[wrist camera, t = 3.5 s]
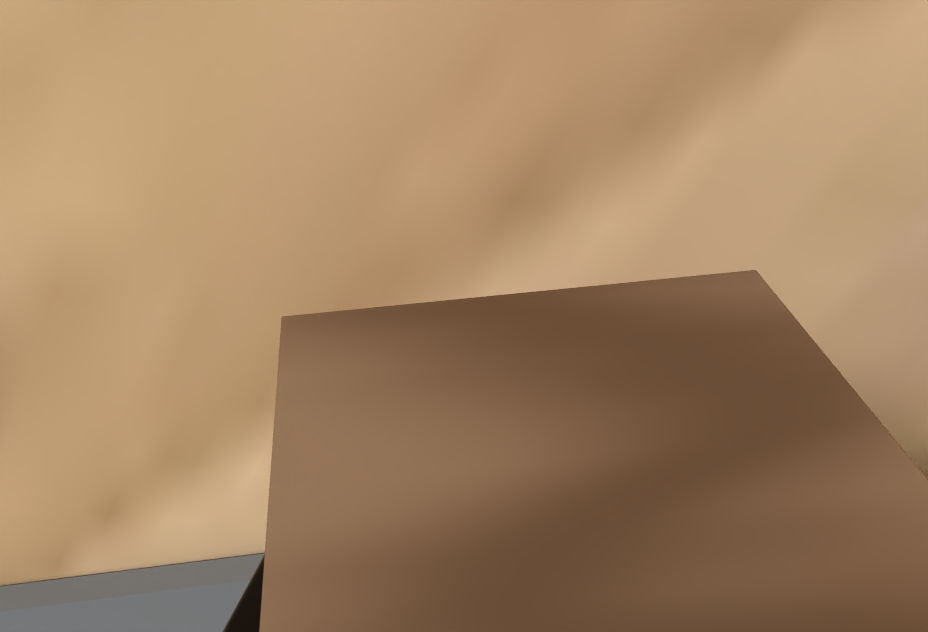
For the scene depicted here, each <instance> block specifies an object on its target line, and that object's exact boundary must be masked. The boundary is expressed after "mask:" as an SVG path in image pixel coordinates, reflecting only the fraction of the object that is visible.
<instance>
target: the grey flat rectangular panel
mask: <svg viewBox="0 0 928 632" xmlns="http://www.w3.org/2000/svg"><path fill="white" fill-rule="evenodd" d="M264 554H265V553H263V554H255V555H247V556H239V557H231V558H223V559H215V560H207V561H199V562H191V563H183V564H175V565H167V566H159V567H151V568H143V569H135V570H127V571H119V572H111V573H103V574H95V575H87V576H79V577H71V578H63V579H55V580H47V581H39V582H31V583H23V584H15V585H7V586H0V632H223V630H224V628H225V626H226V624H227V622H228V621H229V619H230V617H231V615H232V613H233V611H234V610H235V608H236V606H237V604H238V602H239V600H240V599H241V597H242V595H243V593H244V591H245V589H246V587H247V586H248V584H249V582H250V580H251V578H252V576H253V575H254V573H255V571H256V569H257V567H258V565H259V563H260V562H261V560H262V558H263V556H264Z"/></svg>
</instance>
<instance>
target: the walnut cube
mask: <svg viewBox="0 0 928 632" xmlns="http://www.w3.org/2000/svg"><path fill="white" fill-rule="evenodd" d="M259 632H928V479H927V478H926V477H925V476H924V475H923V473H922V472H921V471H920V470H919V468H918V467H917V466H916V465H915V464H914V462H913V461H912V460H911V459H910V457H909V456H908V455H907V454H906V453H905V451H904V450H903V449H902V448H901V446H900V445H899V444H898V443H897V442H896V440H895V439H894V438H893V437H892V436H891V434H890V433H889V432H888V431H887V429H886V428H885V427H884V426H883V425H882V423H881V422H880V421H879V420H878V418H877V417H876V416H875V415H874V414H873V412H872V411H871V410H870V409H869V407H868V406H867V405H866V404H865V403H864V401H863V400H862V399H861V398H860V397H859V395H858V394H857V393H856V392H855V390H854V389H853V388H852V387H851V386H850V384H849V383H848V382H847V381H846V379H845V378H844V377H843V376H842V375H841V373H840V372H839V371H838V370H837V368H836V367H835V366H834V365H833V364H832V362H831V361H830V360H829V359H828V358H827V356H826V355H825V354H824V353H823V351H822V350H821V349H820V348H819V347H818V345H817V344H816V343H815V342H814V340H813V339H812V338H811V337H810V336H809V334H808V333H807V332H806V331H805V329H804V328H803V327H802V326H801V325H800V323H799V322H798V321H797V320H796V319H795V317H794V316H793V315H792V314H791V312H790V311H789V310H788V309H787V308H786V306H785V305H784V304H783V303H782V301H781V300H780V299H779V298H778V297H777V295H776V294H775V293H774V292H773V290H772V289H771V288H770V287H769V286H768V284H767V283H766V282H765V281H764V280H763V278H762V277H761V276H760V275H759V273H758V272H757V271H756V270H751V271H741V272H731V273H721V274H710V275H700V276H690V277H680V278H670V279H660V280H649V281H639V282H629V283H619V284H609V285H599V286H588V287H578V288H568V289H558V290H548V291H538V292H527V293H517V294H507V295H497V296H487V297H477V298H467V299H456V300H446V301H436V302H426V303H416V304H406V305H395V306H385V307H375V308H365V309H355V310H345V311H334V312H324V313H314V314H304V315H294V316H284V317H282V321H281V335H280V349H279V363H278V377H277V391H276V405H275V419H274V433H273V447H272V461H271V475H270V489H269V503H268V517H267V531H266V545H265V559H264V573H263V587H262V601H261V615H260V629H259Z"/></svg>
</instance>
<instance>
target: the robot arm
mask: <svg viewBox="0 0 928 632" xmlns="http://www.w3.org/2000/svg"><path fill="white" fill-rule="evenodd" d="M264 559H265V554H264V556H263V558H262V560H261V562H260V563H259V565H258V567H257V569H256V571H255V573H254V575H253V576H252V578H251V580H250V582H249V584H248V586H247V587H246V589H245V591H244V593H243V595H242V597H241V599H240V600H239V602H238V604H237V606H236V608H235V610H234V611H233V613H232V615H231V617H230V619H229V621H228V622H227V624H226V626H225V628H224V630H223V632H259V629H260V615H261V601H262V587H263V573H264Z"/></svg>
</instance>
